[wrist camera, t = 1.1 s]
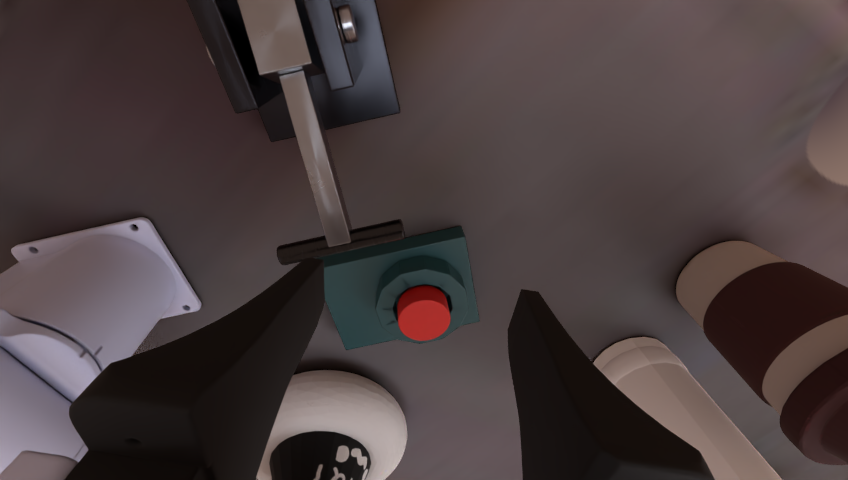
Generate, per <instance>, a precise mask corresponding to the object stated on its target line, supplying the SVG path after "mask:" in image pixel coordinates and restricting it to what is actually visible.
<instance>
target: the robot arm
mask: <svg viewBox="0 0 848 480" xmlns="http://www.w3.org/2000/svg"><path fill="white" fill-rule="evenodd" d="M133 224H134V225H136V226H137V227H138V228H135V227H134V226H133ZM34 247H35V248H36V249H37V250H36V249H35V248H34ZM11 253H12V254H13V256H14V257H15V258H16V259H17V260H18V261H19V262H18V263H17V264H15V265H14V266H12V267H11V268H9V269H8V270H6V271H5V272H3V273H1V274H0V480H256V477H257V473H258V470H259V467H260V464H261V461H262V458H263V455H264V452H265V449H266V446H267V443H268V440H269V437H270V434H271V431H272V428H273V426H274V423H275V420H276V417H277V414H278V411H279V409H280V406H281V403H282V400H283V398H284V395H285V392H286V390H287V387H288V385H289V383H290V381H291V378H292V376H293V374H294V372H295V370H296V368H297V366H298V364H299V362H300V360H301V358H302V356H303V354H304V352H305V350H306V348H307V346H308V343H309V341H310V339H311V337H312V335H313V333H314V331H315V329H316V327H317V324H318V321H319V318H320V315H321V312H322V309H323V306H324V303H325V292H324V260H321V259H315V258H308V257H307V258H306V259H304V260H303V261H302V262H300V263H299V264H298V265H297V266H295V267H294V268H293V269H292V270H291V271H289V272H288V273H287V274H286V275H284V276H283V277H282V278H281V279H279V280H278V281H277V282H275V283H274V284H273V285H271V286H270V287H269V288H268V289H266V290H265V291H263V292H262V293H261V294H259V295H258V296H256V297H255V298H253V299H252V300H250V301H249V302H248V303H246V304H245V305H243V306H241V307H240V308H238V309H237V310H235V311H233V312H232V313H230V314H228V315H226V316H225V317H223V318H221V319H219V320H217V321H215V322H214V323H211V324H209V325H207V326H205V327H203V328H201V329H199V330H197V331H195V332H193V333H191V334H189V335H186V336H184V337H182V338H179V339H177V340H175V341H172V342H170V343H167V344H165V345H162V346H160V347H157V348H154V349H152V350H149V351H146V352H143V353H140V354H137V355H134V356H132V355H133V354H134V352H135V351H136V350H137V348H138V347H139V346H140V344H141V343H142V342H143V340H144V339H145V338H146V336H147V335H148V334H149V333H150V331H151V330H152V329H153V327H154V326H155V325H156V323H157V322H158V321H159V319H162V318H167V317H172V316H176V315H181V314H185V313H190V312H194V311H198V310H199V309H200V307H201V305H202V304H201V302H200V300H199V298H198V297H197V295H196V294H195V292H194V290H193V289H192V287H191V286H190V284H189V282H188V281H187V279H186V277H185V276H184V274H183V273H182V271H181V269H180V268H179V266H178V265H177V263H176V261H175V260H174V258H173V257H172V255H171V253H170V252H169V250H168V249H167V247H166V245H165V244H164V242H163V241H162V239H161V237H160V236H159V234H158V233H157V231H156V229H155V228H154V226H153V224H152V223H151V222H150V220H149V219H147V218H144V217H138V218H134V219H130V220H125V221H121V222H116V223H112V224H107V225H103V226H99V227H94V228H90V229H85V230H81V231H76V232H72V233H68V234H63V235H59V236H54V237H50V238H45V239H41V240H36V241H32V242H28V243H23V244H19V245H16V246H15V247H13V248H12V249H11ZM185 305H187V306H189V307H186V306H185ZM508 351H509V361H510V367H511V373H512V379H513V385H514V390H515V396H516V402H517V408H518V414H519V422H520V435H521V450H522V470H523V480H715V479H714V477H713V475H712V473H711V471H710V469H709V467H708V465H707V463H706V461H705V460H704V458H703V456H702V454H701V453H700V451H699V450H697V449H696V448H694V447H693V446H691V445H690V444H689V443H687V442H686V441H684V440H683V439H681V438H680V437H678V436H677V435H675V434H674V433H673V432H671V431H670V430H668V429H667V428H665V427H664V426H663V425H661V424H660V423H659V422H658V421H656V420H655V419H654V418H652V417H651V416H650V415H648V414H647V413H646V412H645V411H643V410H642V409H641V408H640V407H639V406H637V405H636V404H635V403H634V402H633V401H631V400H630V399H629V398H628V397H627V396H626V395H625V394H624V393H622V392H621V391H620V390H619V389H618V388H617V387H616V386H615V385H614V384H613V383H612V382H611V381H609V380H608V379H607V377H606V376H605V375H604V374H603V373H602V372H601V371H600V370H599V369H598V368H597V367H596V366H595V365H594V364H593V363H592V362H591V361H590V360H589V359H588V357H587V356H586V355H585V354H584V353H583V352H582V350H581V349H580V348H579V347H578V346H577V345H576V343H575V342H574V341H573V339H572V338H571V337H570V336H569V334H568V333H567V332H566V330H565V329H564V328H563V326H562V325H561V324H560V322H559V321H558V319H557V318H556V317H555V315H554V314H553V312H552V311H551V309H550V308H549V307H548V305H547V304H546V302H545V301H544V299H543V298H542V297H541V295H540V294H539V292H536V291H529V290H523V289H521V292H520V295H519V298H518V301H517V304H516V307H515V310H514V313H513V316H512V319H511V322H510V325H509V328H508Z"/></svg>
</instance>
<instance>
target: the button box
mask: <svg viewBox="0 0 848 480" xmlns="http://www.w3.org/2000/svg"><path fill="white" fill-rule="evenodd" d="M316 259H321V260H324V292H325V301H326V303H327V306H328V308H329V310H330V313H331V315H332V318H333V320H334V322H335V325H336V327H337V330H338V332H339V334H340V337H341V339H342V342H343V344H344V346H345V349H346V350H349V349H354V348H359V347H363V346H368V345H373V344H377V343H382V342H387V341H391V340H396V339H398V340H403V341H408V342H413V343H419V344H421V343H426V342H431V341H435V340H440V339H442V338H444V337H446V336H447V335H449V334H450V333H451V332H453V331H454V330H456V329H457V328H458V327H460V326H461V325H466V324H471V323H475V322H479V321H480V320H479V314H478V309H477V303H476V297H475V291H474V285H473V280H472V274H471V268H470V262H469V256H468V250H467V245H466V239H465V235H464V232H463V230H462V227H461V226H458V227H454V228H449V229H445V230H440V231H436V232H431V233H427V234H422V235H418V236H413V237H409V238H404V239H401V240H397V241H392V242H388V243H383V244H379V245H374V246H370V247H365V248H361V249H356V250H352V251H347V252H342V253H338V254H333V255H329V256H324V257H320V258H316ZM420 285H428V286H433V287H435V288H437V289H439V290H440V291H441V292H442V293H443V294H444V295H445V297H446V299H447V303H448V307H449V312H450V317H451V318H450V324H449V326H448V328H447V330H446V331H445V332H444V333H443V334H442V335H440V336H439V337H436V338H434V339H431V340H425V341H419V340H414V339H411V338H409V337H407V336H406V335H404V334H403V333H402V331H401V330H400V328H399V325H398V310H397V305H398V301H399V298H400V297H401V295H402V294H403V293H404V292H405V291H407V290H408V289H410V288H412V287H415V286H420Z"/></svg>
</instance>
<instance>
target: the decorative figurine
mask: <svg viewBox="0 0 848 480" xmlns="http://www.w3.org/2000/svg"><path fill="white" fill-rule="evenodd" d="M406 442H407V426H406V421H405V416H404V414H403V412H402V410H401V408H400V406H399V404H398V403H397V401H396V400H395V399H394V397H393V396H392V395H391V394H390V393H389V392H388V391H387V390H385V389H384V388H383V387H382V386H380V385H379V384H377V383H375V382H373V381H372V380H370V379H367V378H365V377H362V376H360V375H357V374H353V373H349V372H344V371H335V370H318V371H308V372H303V373H299V374H295V375H293V376H292V378H291V381H290V383H289V385H288V387H287V390H286V392H285V395H284V398H283V400H282V403H281V406H280V409H279V411H278V414H277V417H276V420H275V423H274V426H273V428H272V431H271V434H270V437H269V440H268V443H267V446H266V449H265V452H264V455H263V458H262V461H261V464H260V467H259V470H258V473H257V478H258V479H259V480H384V479H386V478H387V477H388V476H389V475H390V474H391V473H392V472H393V470H394V469H395V468H396V467H397V465H398V464H399V462H400V460H401V458H402V456H403V453H404V450H405V447H406Z"/></svg>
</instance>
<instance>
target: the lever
mask: <svg viewBox="0 0 848 480" xmlns="http://www.w3.org/2000/svg"><path fill="white" fill-rule="evenodd" d="M237 4H238V7H239V11H240V14H241V17H242V20H243V24H244V27H245V30H246V34H247V37H248V40H249V43H250V47H251V50H252V53H253V57H254V60H255V63H256V66H257V70H258V73H259V75H260V76H262V77H265V78H267V79H269V80H272V81H274V82H276V83H279V84H280V83H281V86H282V90H283V93H284V96H285V100H286V103H287V107H288V110H289V114H290V117H291V120H292V124H293V127H294V131H295V134H296V137H297V141H298V144H299V148H300V151H301V155H302V158H303V161H304V165H305V168H306V172H307V175H308V179H309V182H310V185H311V189H312V192H313V196H314V199H315V202H316V206H317V209H318V213H319V216H320V220H321V223H322V226H323V230H324V233H325V236H321V237H317V238H312V239H308V240H303V241H299V242H294V243H290V244H285V245H281V246H279V247H278V248H277V257H278V260H279V262H280V263H281V264H282V265H288V264H293V263H297V262H302V261H303V260H304V259H306V258H307V257H308V258H320V257H324V256H329V255H333V254H338V253H342V252H347V251H352V250H356V249H361V248H365V247H370V246H374V245H379V244H383V243H388V242H392V241H397V240H401V239H404V238H405V232H404V227H403V223H402V221H401V219H398V220H394V221H389V222H384V223H380V224H375V225H371V226H366V227H362V228H357V229H353V230H352V227H351V224H350V220H349V216H348V213H347V209H346V205H345V202H344V198H343V194H342V191H341V187H340V183H339V180H338V176H337V172H336V169H335V165H334V161H333V158H332V154H331V150H330V147H329V143H328V139H327V136H326V132H325V128H324V125H323V121H322V117H321V114H320V110H319V106H318V103H317V99H316V95H315V92H314V88H313V84H312V81H311V77H310V76H314V75H319V74H323V73H325V71H324V68H323V65H322V61H321V58H320V55H319V52H318V48H317V45H316V42H315V38H314V35H313V32H312V29H311V25H310V22H309V19H308V15H307V12H306V9H305V6H304V2H303V0H237Z"/></svg>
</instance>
